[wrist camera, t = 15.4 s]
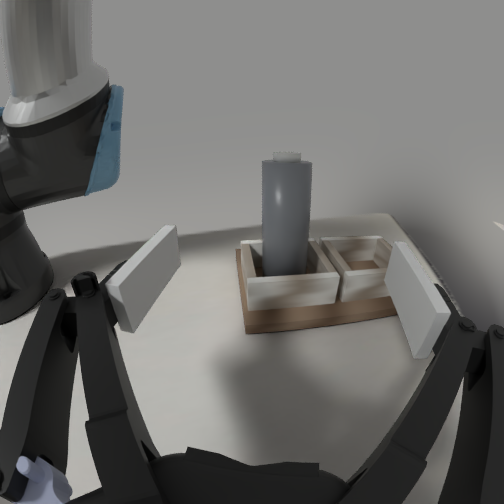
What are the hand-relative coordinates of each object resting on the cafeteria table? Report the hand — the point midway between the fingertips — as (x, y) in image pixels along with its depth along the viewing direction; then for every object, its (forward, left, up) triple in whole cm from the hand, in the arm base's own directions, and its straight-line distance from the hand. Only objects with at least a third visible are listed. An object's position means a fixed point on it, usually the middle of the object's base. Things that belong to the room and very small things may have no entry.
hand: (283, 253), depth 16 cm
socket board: (+7, +10, -9) cm, 16 cm away
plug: (+2, +9, -8) cm, 13 cm away
